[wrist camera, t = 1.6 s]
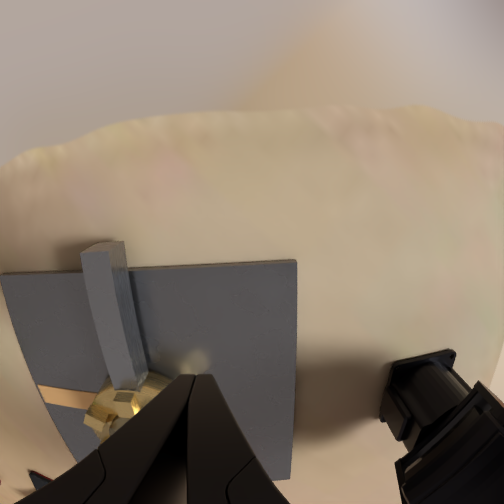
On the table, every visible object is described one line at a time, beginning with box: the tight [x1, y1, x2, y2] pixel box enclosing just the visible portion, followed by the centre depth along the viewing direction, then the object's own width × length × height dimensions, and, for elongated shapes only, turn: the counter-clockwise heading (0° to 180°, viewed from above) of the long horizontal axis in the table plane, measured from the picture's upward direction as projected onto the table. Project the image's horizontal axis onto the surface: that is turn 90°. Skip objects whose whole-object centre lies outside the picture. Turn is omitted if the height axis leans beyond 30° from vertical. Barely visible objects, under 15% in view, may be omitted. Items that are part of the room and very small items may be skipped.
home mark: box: [38, 384, 97, 410], centre depth 21 cm, size 6×2×1 cm, turn 93°
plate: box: [0, 260, 297, 481], centre depth 21 cm, size 22×22×1 cm
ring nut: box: [80, 241, 173, 444], centre depth 18 cm, size 17×8×4 cm, turn 3°
